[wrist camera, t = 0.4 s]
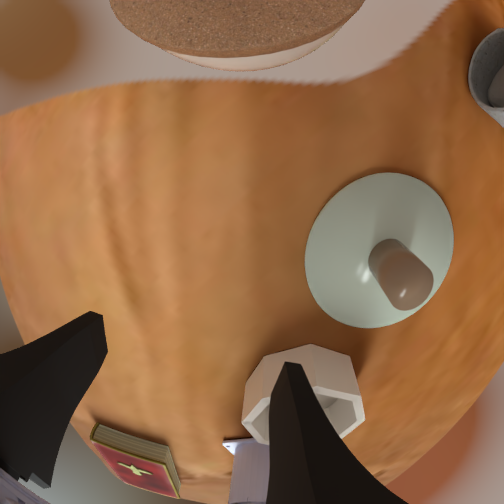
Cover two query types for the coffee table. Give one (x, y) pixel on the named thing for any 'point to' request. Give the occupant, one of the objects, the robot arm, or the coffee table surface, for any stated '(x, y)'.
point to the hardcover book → (137, 460)
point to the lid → (379, 250)
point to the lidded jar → (236, 28)
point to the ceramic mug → (489, 75)
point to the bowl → (321, 380)
